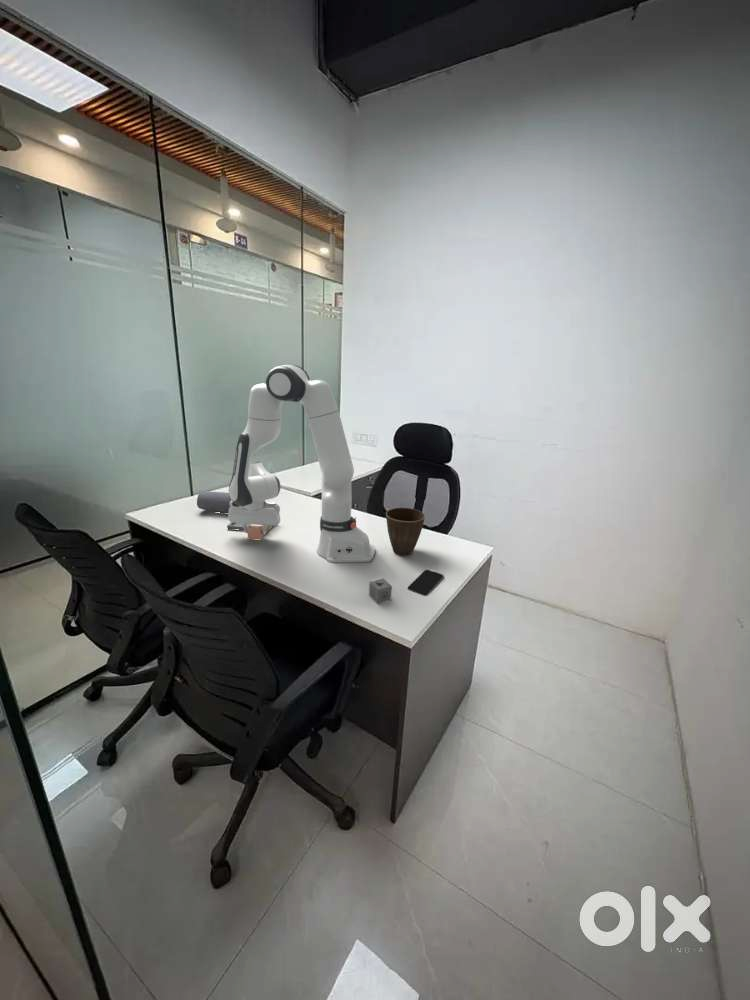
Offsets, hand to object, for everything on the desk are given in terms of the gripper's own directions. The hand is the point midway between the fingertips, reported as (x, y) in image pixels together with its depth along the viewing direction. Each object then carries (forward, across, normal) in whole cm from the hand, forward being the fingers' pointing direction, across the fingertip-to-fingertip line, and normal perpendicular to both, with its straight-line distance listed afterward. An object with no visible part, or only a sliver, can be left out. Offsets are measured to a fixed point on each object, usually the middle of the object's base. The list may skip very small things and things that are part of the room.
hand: (255, 533), depth 149 cm
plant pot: (+2, -60, +2) cm, 60 cm away
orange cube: (+2, 0, 0) cm, 2 cm away
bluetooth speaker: (+2, +24, -24) cm, 34 cm away
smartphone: (+3, -68, +24) cm, 72 cm away
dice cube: (+2, -53, +35) cm, 63 cm away
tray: (+2, +10, -10) cm, 14 cm away
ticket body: (+2, 0, -10) cm, 10 cm away
